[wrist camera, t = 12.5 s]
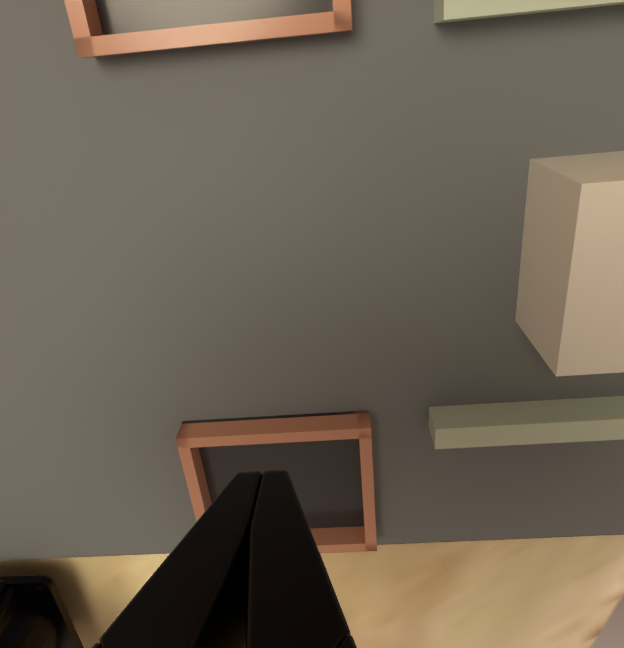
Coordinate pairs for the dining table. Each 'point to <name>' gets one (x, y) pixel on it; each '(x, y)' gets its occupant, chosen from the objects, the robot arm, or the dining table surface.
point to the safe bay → (528, 416)
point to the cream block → (574, 263)
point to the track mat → (287, 265)
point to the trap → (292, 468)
